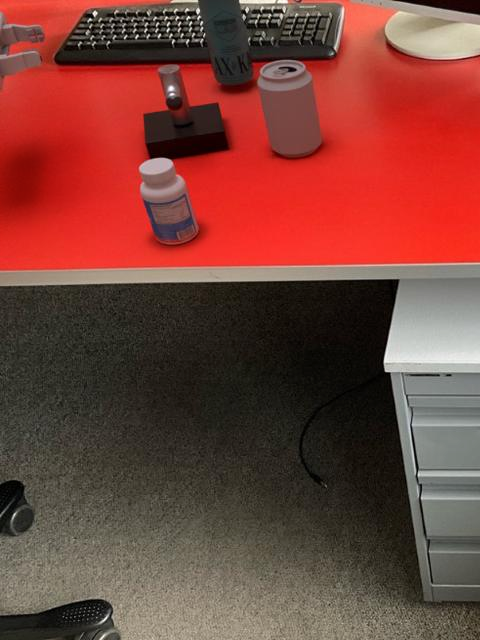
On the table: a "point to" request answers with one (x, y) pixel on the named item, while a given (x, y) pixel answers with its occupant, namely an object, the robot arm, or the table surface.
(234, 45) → the beverage bottle
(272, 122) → the can
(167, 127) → the tap base
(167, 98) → the spout
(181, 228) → the pill bottle
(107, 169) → the table surface
